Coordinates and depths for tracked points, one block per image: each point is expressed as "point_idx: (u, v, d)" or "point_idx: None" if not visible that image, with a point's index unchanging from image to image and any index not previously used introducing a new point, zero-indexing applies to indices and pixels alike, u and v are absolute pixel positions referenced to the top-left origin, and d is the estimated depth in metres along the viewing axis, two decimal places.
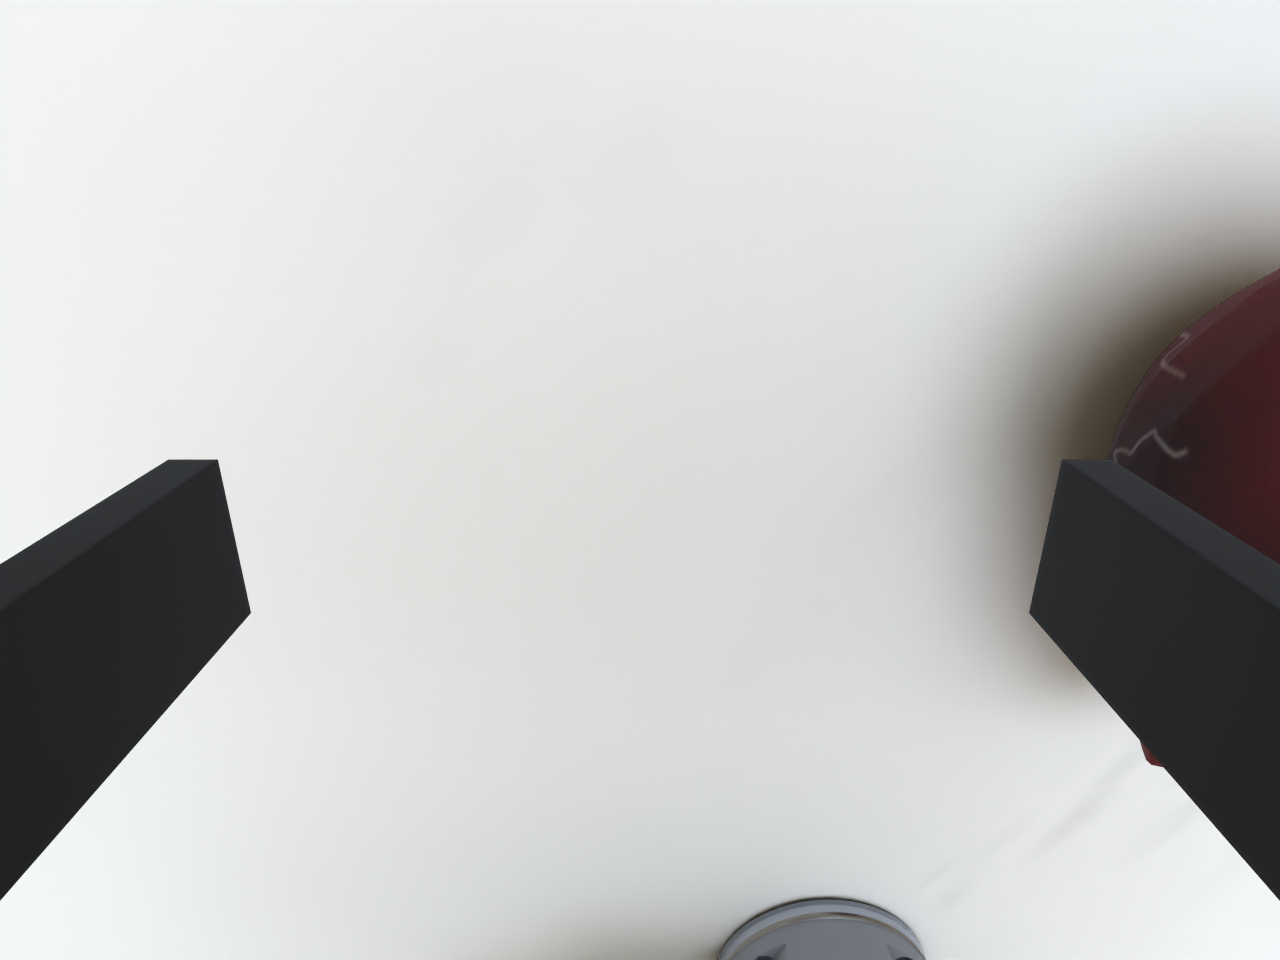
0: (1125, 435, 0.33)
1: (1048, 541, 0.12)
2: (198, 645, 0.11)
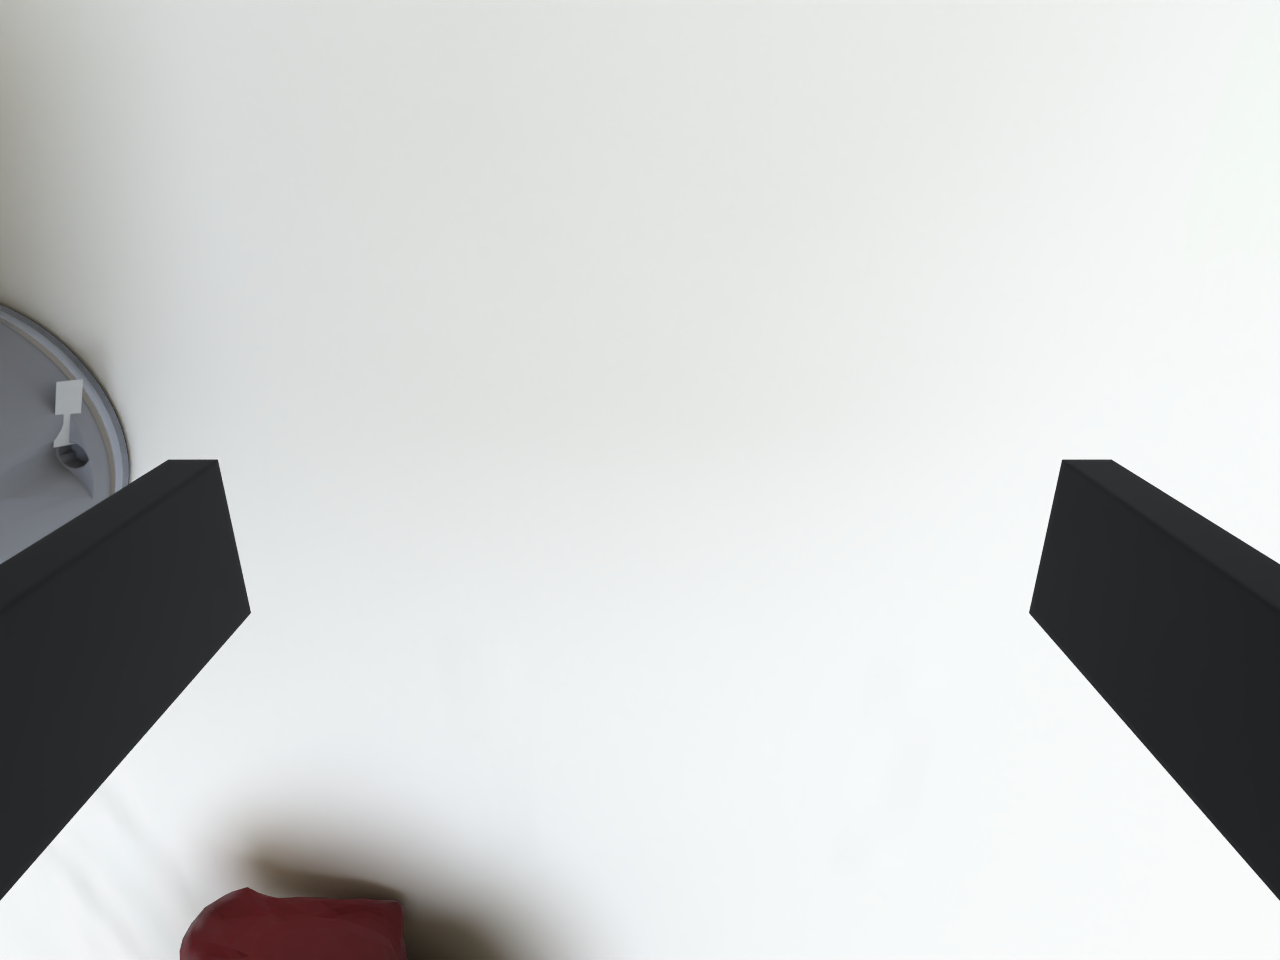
0: None
1: (1047, 540, 0.12)
2: (198, 645, 0.11)
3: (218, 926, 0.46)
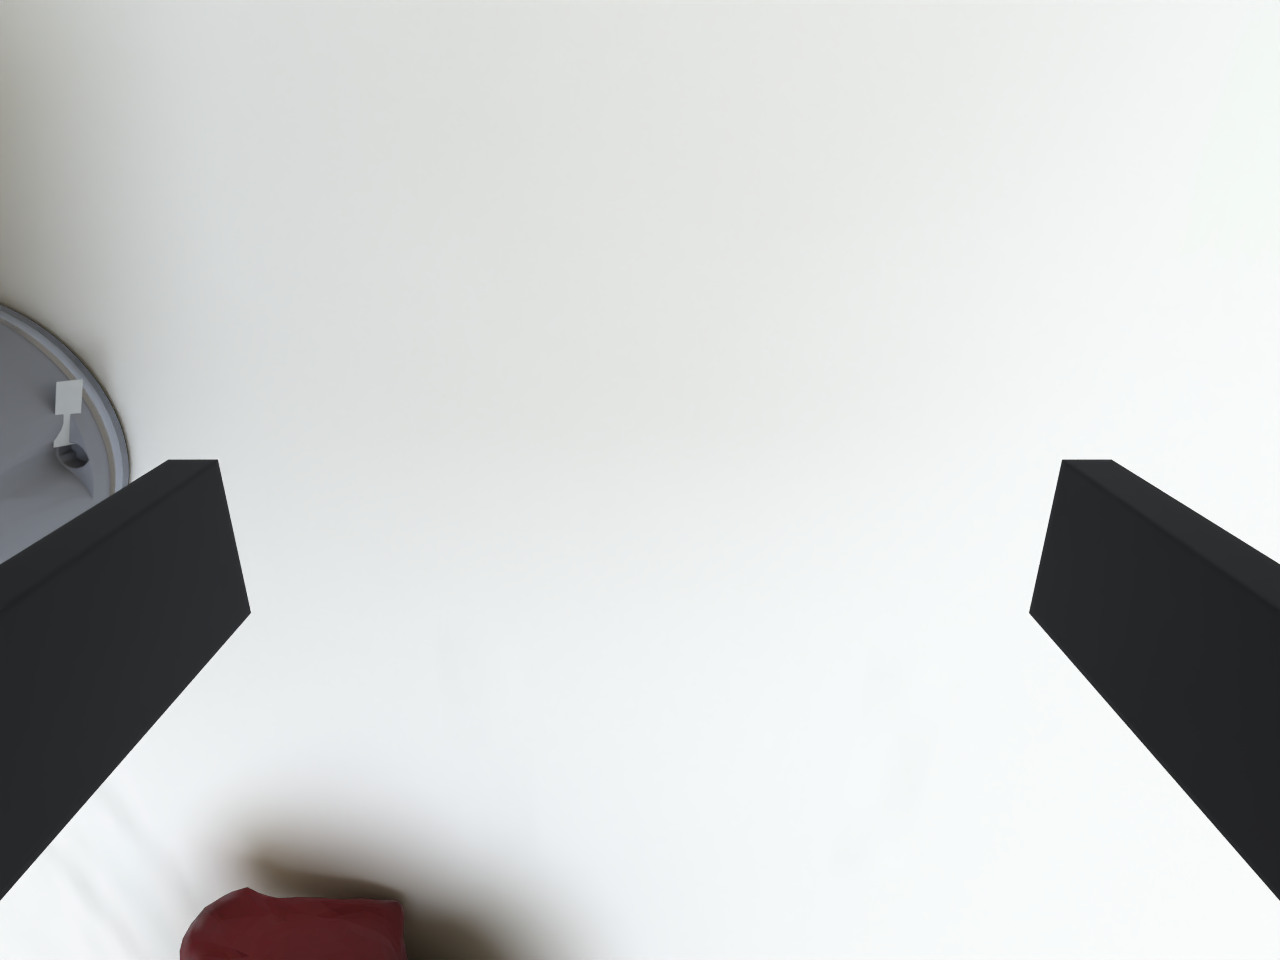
0: None
1: (1047, 540, 0.12)
2: (198, 645, 0.11)
3: (218, 926, 0.46)
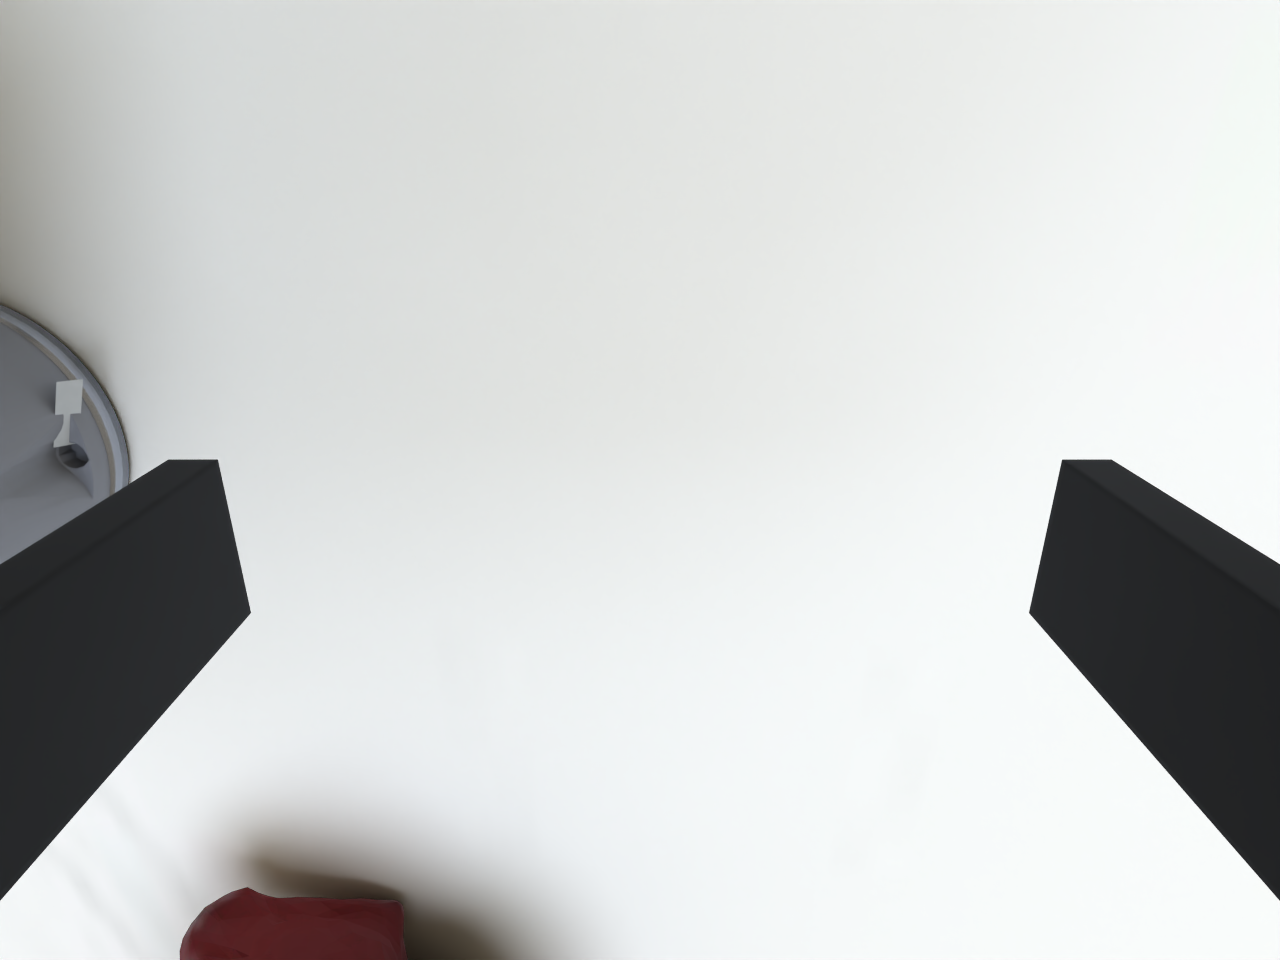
0: None
1: (1047, 540, 0.12)
2: (198, 645, 0.11)
3: (218, 926, 0.46)
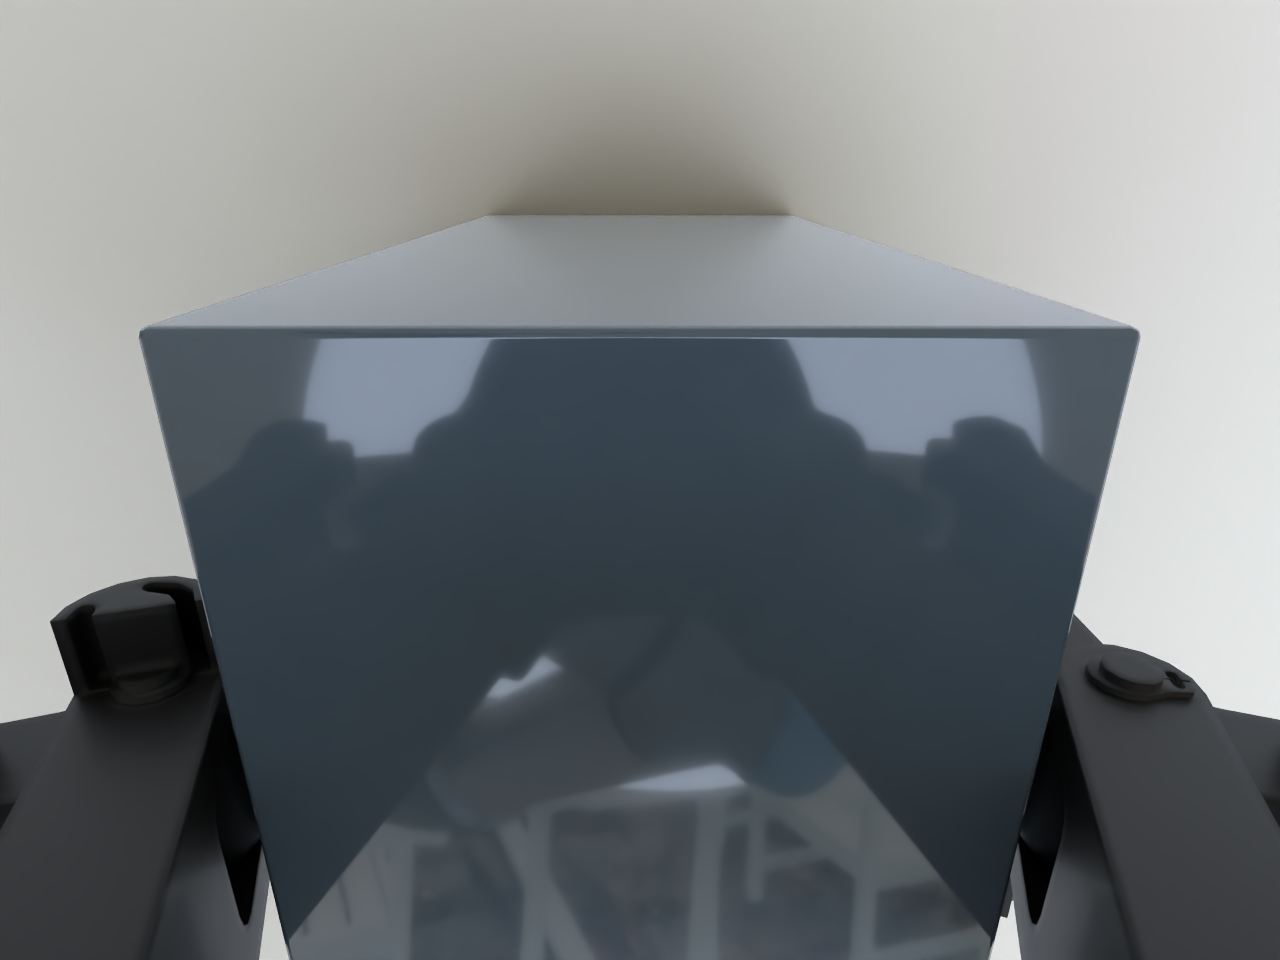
0: None
1: None
2: None
3: None
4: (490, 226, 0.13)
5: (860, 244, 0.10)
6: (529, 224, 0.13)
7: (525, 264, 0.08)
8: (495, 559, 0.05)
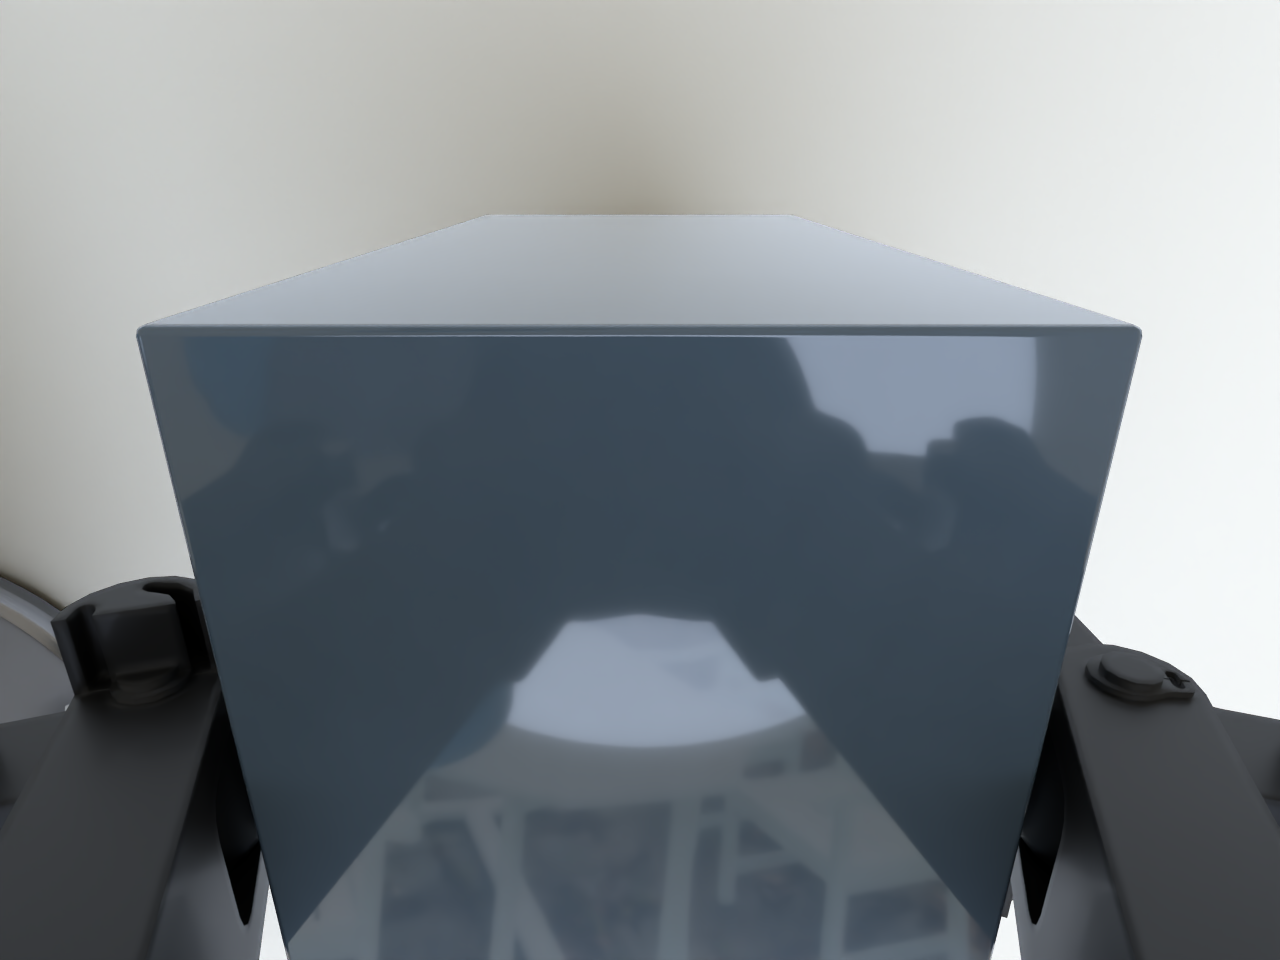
0: None
1: None
2: None
3: None
4: (490, 225, 0.13)
5: (860, 243, 0.10)
6: (529, 223, 0.13)
7: (524, 263, 0.08)
8: (494, 557, 0.05)
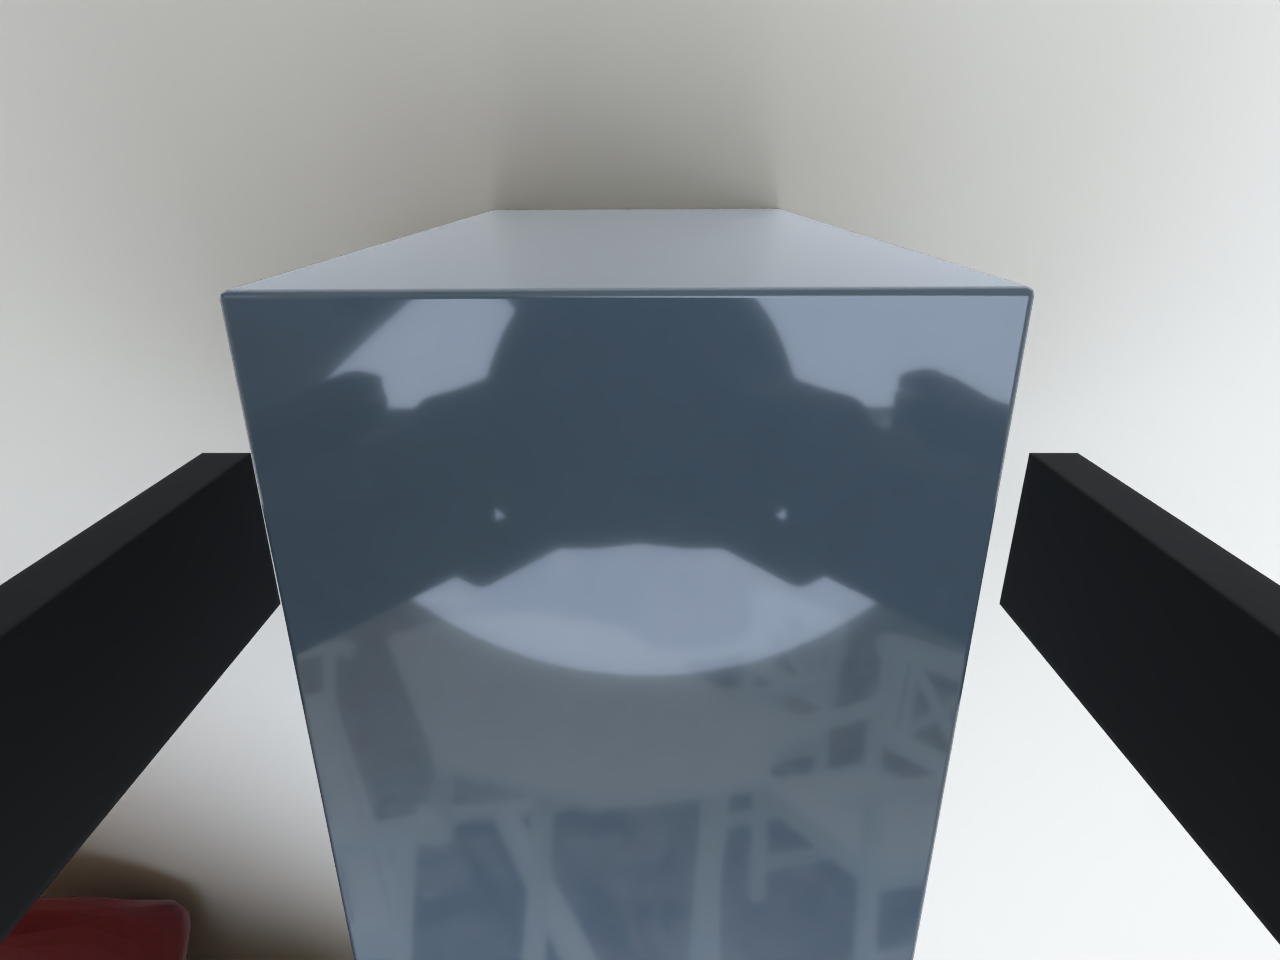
0: None
1: (1016, 532, 0.13)
2: (233, 634, 0.12)
3: None
4: (497, 218, 0.14)
5: (831, 231, 0.11)
6: (533, 217, 0.14)
7: (531, 247, 0.09)
8: (507, 484, 0.06)
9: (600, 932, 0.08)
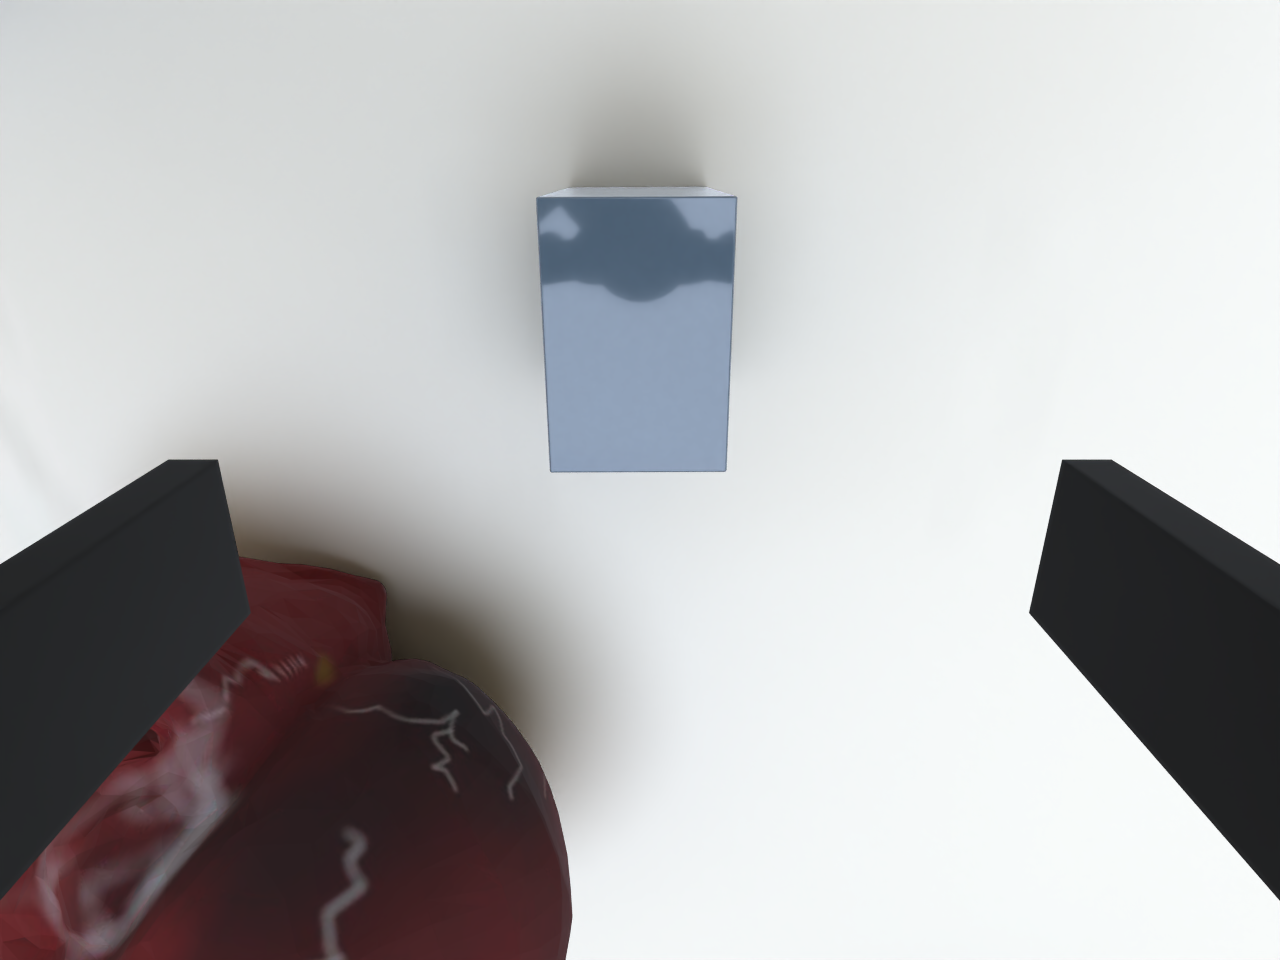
0: (508, 725, 0.36)
1: (1048, 541, 0.12)
2: (198, 644, 0.11)
3: None
4: None
5: None
6: None
7: (603, 193, 0.27)
8: (605, 250, 0.24)
9: (627, 409, 0.26)
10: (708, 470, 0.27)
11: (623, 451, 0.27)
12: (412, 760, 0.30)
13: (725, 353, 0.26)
